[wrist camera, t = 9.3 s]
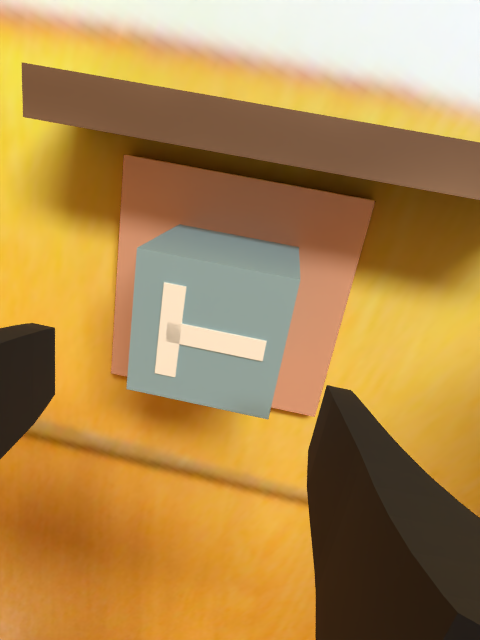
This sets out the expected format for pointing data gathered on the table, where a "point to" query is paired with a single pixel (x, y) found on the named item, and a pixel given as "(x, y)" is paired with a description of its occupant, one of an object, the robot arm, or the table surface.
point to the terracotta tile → (259, 223)
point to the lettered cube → (211, 318)
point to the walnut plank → (253, 130)
